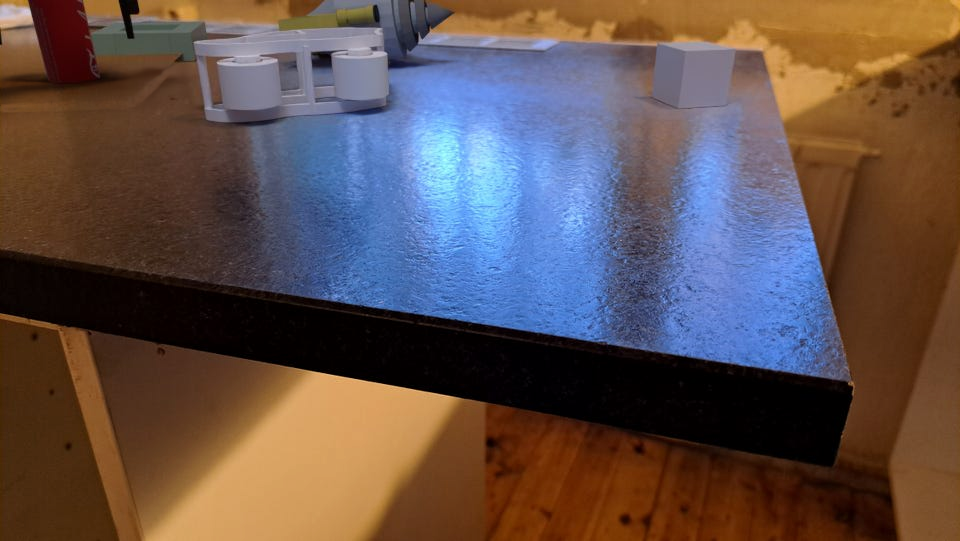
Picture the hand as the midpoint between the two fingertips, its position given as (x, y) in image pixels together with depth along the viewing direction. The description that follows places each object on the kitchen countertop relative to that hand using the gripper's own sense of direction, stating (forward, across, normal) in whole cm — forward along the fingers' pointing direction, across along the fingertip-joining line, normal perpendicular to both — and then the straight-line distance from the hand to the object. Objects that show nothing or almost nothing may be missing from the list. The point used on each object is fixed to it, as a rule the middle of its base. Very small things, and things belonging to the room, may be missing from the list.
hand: (65, 32), depth 82 cm
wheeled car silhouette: (-11, +23, -20) cm, 33 cm away
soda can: (+4, 0, -5) cm, 6 cm away
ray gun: (+7, +38, -2) cm, 39 cm away
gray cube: (-20, +63, -29) cm, 72 cm away
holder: (+20, +9, +11) cm, 24 cm away
